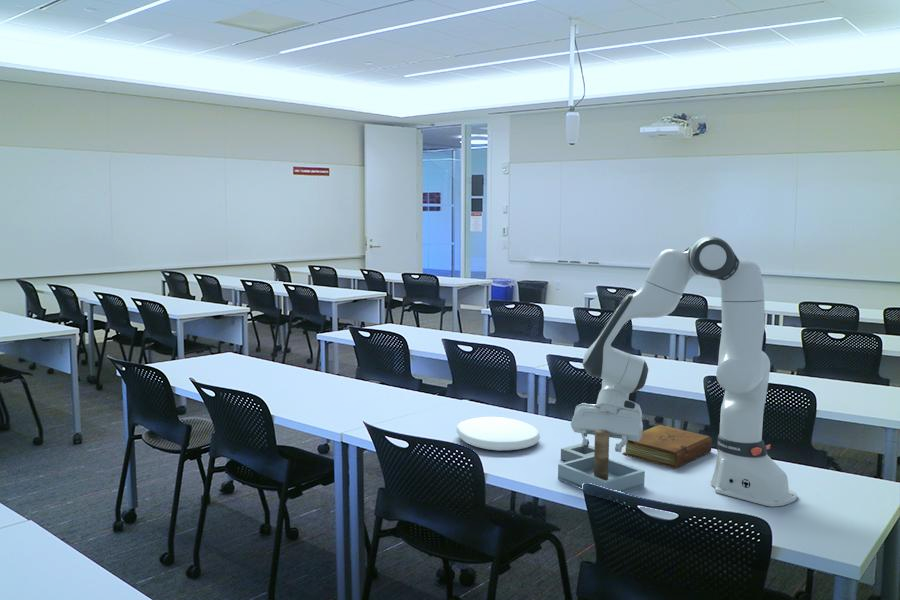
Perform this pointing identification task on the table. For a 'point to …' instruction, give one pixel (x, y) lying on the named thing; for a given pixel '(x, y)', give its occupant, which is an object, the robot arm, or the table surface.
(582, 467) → the tray
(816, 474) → the table surface
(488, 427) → the plate
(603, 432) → the dowel
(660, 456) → the diary
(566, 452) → the socket block
